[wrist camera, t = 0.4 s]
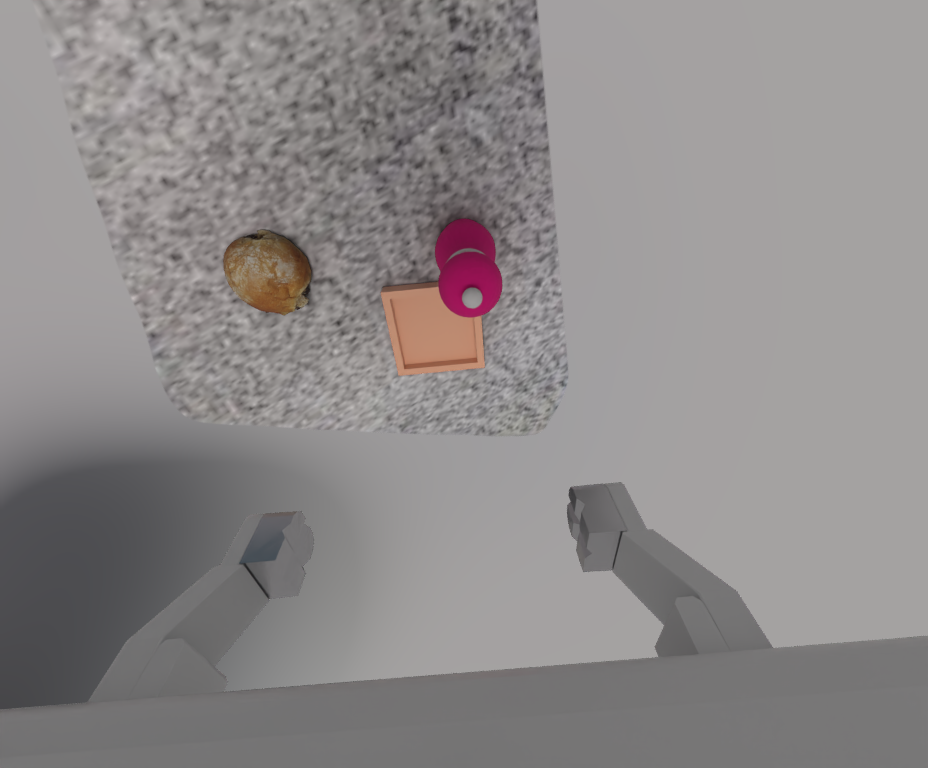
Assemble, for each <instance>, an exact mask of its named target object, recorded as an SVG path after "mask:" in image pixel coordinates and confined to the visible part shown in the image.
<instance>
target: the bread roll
mask: <svg viewBox="0 0 928 768" xmlns="http://www.w3.org/2000/svg"><path fill="white" fill-rule="evenodd" d="M257 232H258V234H255V235H248V236H247V237H241V238H239V239H237V240H235V241H234V242H232V243H231V244H230V245H229V246H228V248H227V249H226V252H225V254H224V260H223V262H224V271H225V276H226V279H227V281H228V283H229V285H230V287H231V288H232V290H233V291H234V292H235V293H236V295H237V296H238V297H239V298H240V299H241V300H243V301H245V302H246V303H248V304H249V305H251V306H253V307H255V308H256V309H259V310H261V311H265V312H266V313H267V312H275V313H280V314H282V315H286V314H288V313H289V312H293V311H295V309H297V310H298V309H300V308H302V307H304V306H305V305H306V304H307V303H308V300H309V298H308V299H307V298H306V297H304V296H305V295H306V294H308V293H309V287H308V284H309V283H310V282H311V270H310V266H309V263H308V260H307V258H306V256H304V254H303V253H302V252H301V251H300V249H298V248H297V247H296V246H294V245H293V244H292V243H291V242H290V241H289V240H287V239H286V238H284V237H282V236H279V235H276V234H273V233H271V232H270V231H268V230H258V231H257Z"/></svg>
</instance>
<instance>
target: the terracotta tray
mask: <svg viewBox="0 0 928 768" xmlns="http://www.w3.org/2000/svg"><path fill="white" fill-rule="evenodd" d="M381 297H382V301H383V306H384V310H385V315H386V320H387V324H388V329H389V333H390V338H391V342H392V347H393V351H394V356H395V361H396V365H397V370H398V374H399V376H401V375H411V374H422V373H432V372H443V371H454V370H464V369H475V368H485V365H484V349H483V334H482V319H481V316H478V317H472V318H468V317H462V316H459V315H457V314H455V313H453V312H452V311H450V310H449V309H448V308H447V307H446V305H445V304H444V303H443V301H442V299H441V296H440V293H439V287H438V282H429V283H419V284H408V285H398V286H388V287H383V288H382V291H381Z"/></svg>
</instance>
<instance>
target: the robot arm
mask: <svg viewBox="0 0 928 768" xmlns="http://www.w3.org/2000/svg"><path fill="white" fill-rule="evenodd" d="M569 498H570V501H571V502H570V503H569V504H568V505H567V517H568V524H569V529H570V532H571V535H572V537H573V538H574V539H575V540H576V541H577V549H576V551H577V554H578V557H579V561H580V564H581V567H582V570H583V572H590V571H608V570H613V573H614V574H615V575H616V576H617V577H618V578H619V579H620V580H621V581H622V582H623V583H624V584H625V585H626V586H627V587H628V588H629V589H630V590H631V591H632V592H633V593H634V594H635V595H636V596H637V597H638V599H639V600H640V601H641V602H642V603H643V604H644V605H645V606H646V607H647V608H648V609H649V610H650V611H651V612H652V613H653V614H654V615H655V616H656V617H657V618H658V619H659V620H660V621H661V622H662V623H663V625H664V627H663V630H662V632H661V634H660V637H659V638H658V641H657V643H656V645H655V649H656V652H657V654H658V657H655V658H642V659H630V660H618V661H606V662H592V663H581V664H580V663H579V664H568V665H554V666H542V667H529V668H516V669H504V670H491V671H480V672H466V673H453V674H441V675H428V676H416V677H404V678H391V679H378V680H365V681H353V682H341V683H328V684H316V685H303V686H290V687H278V688H265V689H253V690H241V691H228V692H224V690H225V687H226V684H227V679H226V676H225V675H223V674H222V673H221V672H220V671H219V670H218V669H217V668H216V667H215V666H216V664H217V663H218V662H219V661H220V659H221V658H222V657H223V656H224V655H225V653H226V652H227V651H228V650H229V649H230V648H231V646H232V645H233V644H234V643H235V642H236V640H237V639H238V638H239V637H240V636H241V634H242V633H243V632H244V631H245V630H246V628H247V627H248V626H249V625H250V624H251V622H252V621H253V620H254V619H255V618H256V616H257V615H258V614H259V613H260V612H261V610H262V609H263V608H264V607H265V606H266V604H267V603H268V602H269V599H272V598H273V599H274V598H283V597H291V596H298V595H299V592H300V589H301V585H302V583H303V580H304V577H305V574H306V573H305V571H304V568H303V566H304V565H305V564H306V563H307V562H308V561H309V560H310V558H311V555H312V552H313V545H314V537H313V532H312V530H311V528H310V527H309V526H307V525H305V524H304V521H305V516H304V515H303V513H302V511H296V512H279V513H264V514H252V515H249V516H248V517H247V518H245V519H244V521H243V523H242V525H241V527H240V529H239V530H238V532H237V534H236V536H235V538H234V540H233V542H232V544H231V545H230V547H229V549H228V551H227V553H226V555H225V557H224V559H223V561H222V562H221V564H220V566H217V567H213V568H212V569H211V570H210V571H209V572H207V573H206V574H205V575H204V576H203V577H202V578H201V579H199V580H198V581H197V582H196V583H195V584H193V585H192V586H191V587H190V588H189V589H187V590H186V591H185V592H184V593H183V594H182V595H180V596H179V597H178V598H177V599H176V600H175V601H173V602H172V603H171V604H170V605H169V606H168V607H166V608H165V609H164V610H163V611H162V612H160V613H159V614H158V615H157V616H156V617H154V618H153V619H152V620H151V621H150V622H148V623H147V624H146V625H145V626H144V627H143V628H141V629H140V630H139V631H138V632H137V633H135V634H134V635H133V636H132V637H131V638H130V639H128V640H127V641H126V643H125V645H124V646H123V647H122V649H121V651H120V652H119V654H118V655H117V657H116V658H115V660H114V662H113V663H112V665H111V666H110V668H109V669H108V671H107V672H106V674H105V676H104V677H103V679H102V680H101V682H100V683H99V685H98V686H97V688H96V690H95V691H94V693H93V694H92V696H91V697H90V699H89V701H88V702H87V703H79V704H78V703H77V704H66V705H53V706H40V707H28V708H15V709H3V710H0V768H928V636H917V637H907V638H895V639H882V640H870V641H858V642H844V643H833V644H819V645H806V646H794V647H781V648H773V647H772V645H771V644H770V642H769V641H768V639H767V638H766V636H765V634H764V633H763V631H762V630H761V628H760V627H759V625H758V624H757V622H756V620H755V619H754V617H753V616H752V614H751V613H750V611H749V609H748V608H747V606H746V605H745V603H744V602H743V600H742V598H741V597H740V595H739V594H738V592H737V591H736V590H734V589H733V588H732V587H730V586H729V585H728V584H726V583H725V582H724V581H722V580H721V579H719V578H718V577H717V576H715V575H714V574H713V573H711V572H710V571H708V570H707V569H706V568H704V567H703V566H702V565H700V564H699V563H698V562H696V561H695V560H693V559H692V558H691V557H689V556H688V555H687V554H685V553H684V552H682V551H681V550H680V549H679V548H677V547H676V546H675V545H673V544H672V543H670V542H669V541H668V540H666V539H665V538H663V537H662V536H661V535H660V534H658V533H657V532H655V531H654V530H647V528H646V526H645V524H644V522H643V520H642V518H641V516H640V515H639V513H638V511H637V509H636V507H635V505H634V503H633V501H632V499H631V497H630V495H629V493H628V491H627V490H626V488H625V486H624V484H622V483H621V482H619V483H608V484H594V485H584V486H574V487H570V489H569Z"/></svg>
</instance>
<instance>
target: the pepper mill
mask: <svg viewBox="0 0 928 768" xmlns="http://www.w3.org/2000/svg"><path fill="white" fill-rule="evenodd" d="M495 254H496V251H495V243H494V240H493V238H492V236H491V234H490V233H489V232H488V230H487V229H486V228H485V227H483V226H482V225H481V224H479V223H477V222H475V221H473V220H471V219H458V220H455V221H453V222H451V223H450V224H449V225H448V226H447V227H446V228H445V229H444V230H443V231H442V233H441V234H440V236H439V237H438V240H437V243H436V247H435V257H436V261H437V265H438V267H439V269H440V271H441V273H440V276H439V281H438V287H439V293H440V296H441V299H442V301H443V303H444V304H445V305H446V307H447V308H448V309H449V310H450V311H452V312H453V313H455V314H457V315H459V316H462V317H468V318H472V317H478V316H481V315H484V314H486V313H487V312H489V311H490V310H491V309H492V308H493V307H494V306H495V305H496V303H497V302H498V300H499V298H500V295H501V292H502V277H501V273H500V271H499V269H498V267H497V265H496V264H495Z"/></svg>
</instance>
